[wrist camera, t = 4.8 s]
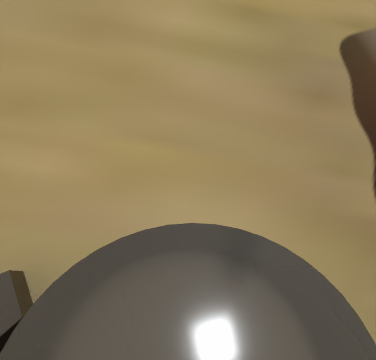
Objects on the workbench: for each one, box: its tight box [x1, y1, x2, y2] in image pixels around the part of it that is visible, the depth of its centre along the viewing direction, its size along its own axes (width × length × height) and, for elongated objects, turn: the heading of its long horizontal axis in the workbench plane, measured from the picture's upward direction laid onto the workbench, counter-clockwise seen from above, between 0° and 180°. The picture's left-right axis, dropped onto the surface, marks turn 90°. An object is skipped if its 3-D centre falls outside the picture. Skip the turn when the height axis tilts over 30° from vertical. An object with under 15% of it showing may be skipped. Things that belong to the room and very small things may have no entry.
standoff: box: [0, 223, 376, 360], centre depth 9 cm, size 4×4×12 cm
